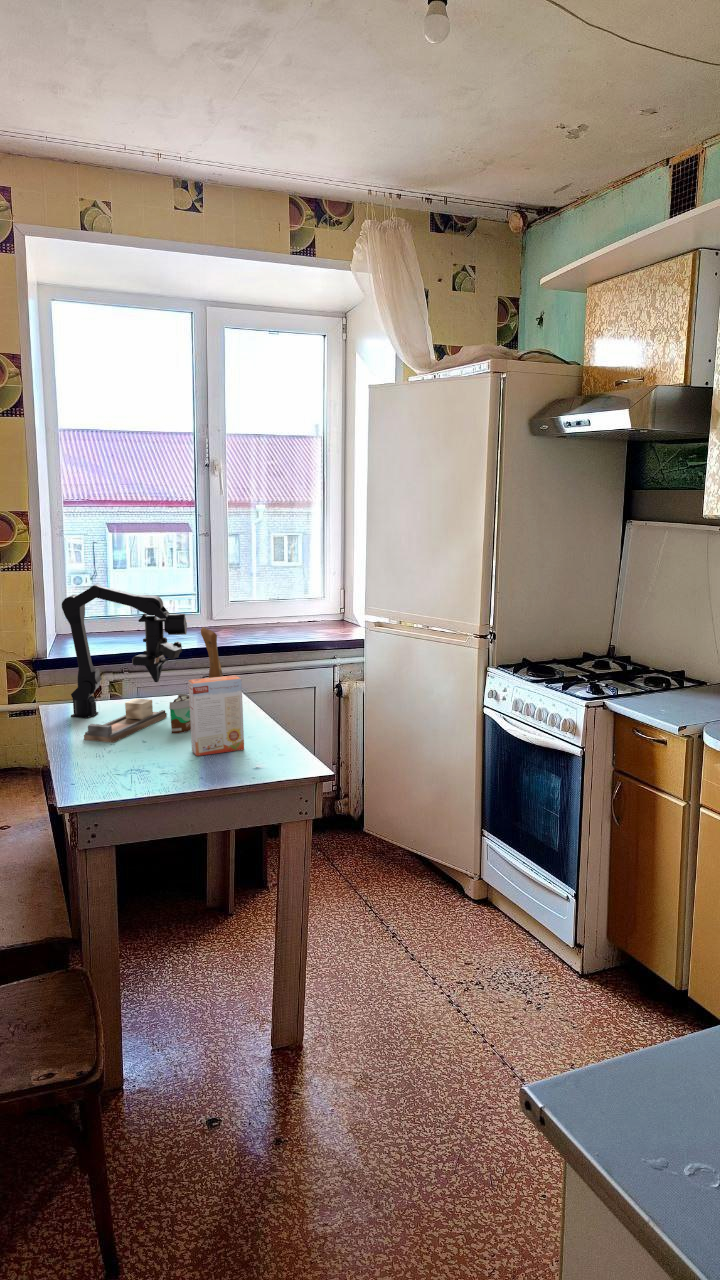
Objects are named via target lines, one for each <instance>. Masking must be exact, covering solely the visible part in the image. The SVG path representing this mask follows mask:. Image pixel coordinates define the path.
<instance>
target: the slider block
mask: <svg viewBox="0 0 720 1280" xmlns="http://www.w3.org/2000/svg"><path fill="white" fill-rule="evenodd" d="M124 706H125V715H126V718H130V719H141V720H142V719H144V718H146V717H148V716H151V715H153V712H154V710H153V708H154V707H153V699H148V698H146V699H145V698H136V697H135V698H133V699H131V700H128V701H126V702H125V703H124Z"/></svg>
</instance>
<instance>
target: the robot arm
mask: <svg viewBox="0 0 720 1280" xmlns="http://www.w3.org/2000/svg"><path fill="white" fill-rule="evenodd" d="M95 599H100V600H104V601H109V602H112V603H115V604H119V605H123V606H124V605H125V606H128V607H131V608H134V609H136V610H137V611H139V612H142V613H143V614H142V616H141V617H139V619H138V620H137V621H138V622H139V623H144V629H145V630H144V632H145V638H143V639H142V642H143V643H145V650H144V651H143V653H142V654H138V655H134V656H133V657H132V658H131V660H132V661H131V662H132V663H131V665H132V666H144V667H145V668H146V669H147V671H148V673H149V674H150V676H151V678H152V681H153V682H154V683H158V682H160V679H161V674H162V671H163V667H164V665H166V663H168V662H169V661H170V660H174V659H177V658H179V656H180V653H182V652H183V646H182V642H180V641H174V643H172V642H171V643H170V642H168V638H167V636H165V635H164V632H165V633H166V634H168V636H170V635H171V636H172V635H173V636H174V635H176V636H177V635H178V636H179V635H184V636H185V635H187V633H188V623H187V619H186V613H177V614H176V613H174V614H173V613H171V614H170V612H169V611H168V609H167V608H166V607H165V605H164V600H163V599H162V598H161V597H160V596H158V595H152V594H151V595H149V594H134V593H130V592H126V591H122V590H120V589H119V590H118V589H115V588H110V587H106V586H102V585H101V584H98V583H97V584H93V585H92V586H90V587H88V589H86V590H85V591H83V592H81V593H79V594H72V595H69V596H67V597H66V598H64V599H63V600H62V602H61V609H62V611H63V612H62V613H63V615H64V617H65V619H66V620H67V622H68V624H69V625H70V630H71V634H72V639H73V640H72V641H73V644H74V651H75V654H76V655H75V656H76V660H77V667H78V671H77V687H76V689H74V691H72V693H71V694H70V697H71V699H72V706H73V714H71V715H70V718H79V719H80V718H81V719H89V718H92V717H94V716H97V715H99V712H98V711H97V702H96V700H95V696H93V695H94V693H95V692H96V690H98V689H99V687H100V685H101V681H102V680H103V679H102V677H101V671H100V669H101V668H99V667H97V668H95V666H94V665H93V662H92V657H91V656H92V655H91V650H90V645H89V641H88V637H87V636H88V635H87V632H86V626H85V615H86V604H88V603H90V602H91V601H93V600H95ZM164 636H165V637H164ZM166 657H167V658H168V659H167V658H166Z"/></svg>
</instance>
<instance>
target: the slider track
mask: <svg viewBox="0 0 720 1280" xmlns="http://www.w3.org/2000/svg"><path fill="white" fill-rule="evenodd" d="M167 714H168V713H167V712H166V710H165V709H162V710H159V711H153V715H151V716H148V717H146V718H144V719H142V720H141V719H130V718H126V714H125V715H122V716H120V717H118V718H115V719H113V720H110V721H108V722H105V723H104V724H100V723H99V724H97V723H90V724H88V725H87V731H85V732H84V735H83V741H93V742H103V743H110V744H111V743H116V742H117V741H120V740H122V739H124V738H126V737H129V736H130V735H132V734H134V733H137V732H138V731H141V730H143V729H145V728H147V727H150V726H151V725H153V724H155V723H158V722H159V721H162V720H164V719H166V718H167V717H168V716H167Z"/></svg>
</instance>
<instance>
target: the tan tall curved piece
mask: <svg viewBox="0 0 720 1280" xmlns="http://www.w3.org/2000/svg"><path fill="white" fill-rule="evenodd" d="M200 635H201V637H202V639H203V642H204V644H205V648H206V650H207V654H208V659H209V670H208V677H207V678H213V677H223V676H224V675H223V670H222V666H221V662H220V658H219V650H218V635H217V633H216V632H214V631H213V630H212V629H208V628H206V627H204V626H202V628H201V629H200Z"/></svg>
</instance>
